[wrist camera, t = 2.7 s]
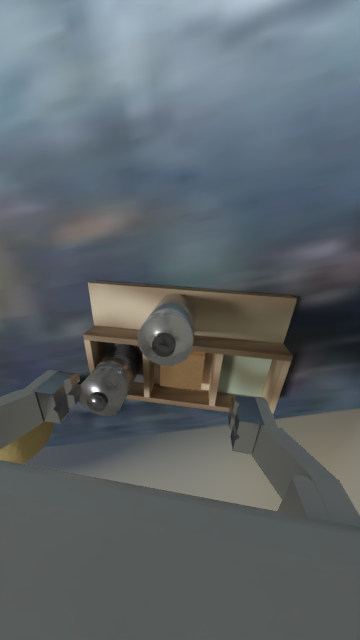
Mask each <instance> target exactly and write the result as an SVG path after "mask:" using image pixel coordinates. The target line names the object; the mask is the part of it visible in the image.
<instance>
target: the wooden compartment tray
mask: <svg viewBox="0 0 360 640" xmlns="http://www.w3.org/2000/svg"><path fill="white" fill-rule="evenodd" d="M88 287H89V293H90V300H91V307H92V314H93V320H94V327H92V328H91V329H90V330H88V331H87V332H86V333H85V334H83V337H84V342H85V348H86V353H87V359H88V365H89V370H90V373H91V372H92V371H93V370H94V369H95V368H96V366H97V365H98V364H99V363H100V362H101V361H102V359H103V358H104V357H105V356H106V355H107V354H108V352H109V351H110V350H111V349H112V348H113V347H114V346H116V345H118V344H128V345H131V346H133V347H135V348H136V349H137V350H138V351H139V352H140V353H141V355H142V358H143V364H142V367H141V369H140V371H139V373H138V375H137V377H136V379H135V381H134V383H133V385H132V387H131V389H130V391H129V393H128V395H127V397H126V399H133V400H140V401H148V402H156V403H163V404H171V405H178V406H186V407H194V408H201V409H209V410H216V411H224V412H229V408H230V407H231V406H232V403H231V398H232V395H233V394H236V395H244V396H252V397H262V398H265V399H266V400H267V403H268V405H269V408H270V410H271V412H272V415H273V413H274V410H275V407H276V404H277V401H278V398H279V396H280V393H281V390H282V387H283V384H284V381H285V378H286V375H287V372H288V370H289V367H290V364H291V361H292V358H293V355H292V354H291V353H290V351H289V350H288V349H287V348H286V346H285V345H284V344H283V343H284V340H285V337H286V334H287V330H288V327H289V324H290V321H291V317H292V314H293V311H294V308H295V305H296V301H297V298H295V297H294V296H292V295H282V294H268V293H255V292H242V291H228V290H215V289H201V288H188V287H175V286H161V285H148V284H135V283H121V282H108V281H95V280H94V281H92V282H89V283H88ZM169 294H181V295H184V296H186V297H188V298H189V299H190V300H191V301H192V303H193V304H194V306H195V309H196V318H195V329H194V340H193V349H192V351H195V352H204V353H205V360H204V369H203V377H202V385H201V391H198V390H190V389H182V388H174V387H166V386H160V365H159V364H156V363H154V362H152V361H150V360H149V359H147V358H146V357H145V356H144V355H143V353H142V352H141V350H140V348H139V345H138V340H137V339H138V332H139V330H140V328H141V326H142V325H143V324H144V322H145V321H146V320H147V318H148V317H149V315H150V314H151V313H152V311H153V310H154V309H155V307H156V306H157V304H158V303H159V302H160V300H161V299H162V298H163V297H165V296H167V295H169Z"/></svg>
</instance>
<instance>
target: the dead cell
mask: <svg viewBox="0 0 360 640" xmlns="http://www.w3.org/2000/svg"><path fill="white" fill-rule="evenodd" d="M142 364H143V358H142V355H141V353H140V352H139V351H138V350H137V349H136V348H135V347H133V346H131V345H128V344H118V345H116V346H114V347H113V348H112V349H111V350H110V351H109V352H108V354H107V355H106V356H105V357H104V358H103V359H102V361H101V362H100V363H99V364H98V365H97V366H96V368H95V369H94V370H93V371H92V372H91V373H90V374H89V376H88V377H87V378H86V379H85V380H84V381H83V383H82V384H81V385H80V386H81V388H82V393H81V397H80V399H79V401H80V403H81V404H82V405H83V406H84V407H85V408H86V409H87V410H89V411H91V412H92V413H95V414H98V415H102V416H110V415H113V414H116V413H117V412H118V411H119V410H120V409H121V407H122V405H123V403H124V401H125V399H126V397H127V395H128V393H129V391H130V389H131V387H132V385H133V383H134V381H135V379H136V377H137V375H138V373H139V371H140V369H141V367H142Z"/></svg>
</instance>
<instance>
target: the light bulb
mask: <svg viewBox="0 0 360 640" xmlns="http://www.w3.org/2000/svg"><path fill="white" fill-rule="evenodd" d="M53 425H54V422H46V421H44V422H43V423H42V424H40V425H38V426H37V427H35V428H34V429H32V430H31V431H29V432H27V433H26V434H24V435H23V436H21V437H20V438H18V439H16V440H15V441H13V442H12V443H10V444H9V445H7V446H5V447H4V448H2V449H1V450H0V460H4V461H9V462H15V463H20V464H24V463H25V462H27V461H28V460H30V459H31V458H33V457H34V456H35V455H36V454H37V453H38V452H39V451H40V450H41V449H42V448H43V447H44V446H45V444H46V443H47V441H48V439H49V437H50V436H51V433H52V430H53Z"/></svg>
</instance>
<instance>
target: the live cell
mask: <svg viewBox="0 0 360 640" xmlns="http://www.w3.org/2000/svg"><path fill="white" fill-rule="evenodd" d="M195 318H196V309H195V306H194V304H193V303H192V301H191V300H190V299H189V298H188V297H186V296H184V295H181V294H169V295H167V296H165V297H163V298H162V299H161V300H160V302H159V303H158V304H157V306H156V307H155V309H154V310H153V311H152V313H151V314H150V315H149V317H148V318H147V320H146V321H145V322H144V324H143V325H142V326H141V328H140V330H139V332H138V339H137V340H138V345H139V348H140V350H141V352H142V353H143V355H144V356H145V357H146V358H147V359H149V360H150V361H152V362H154V363H156V364H159V365H163V366H173V365H177V364H179V363H182V362H183V361H185V360H186V359H187V358H188V357H189V355H190V354H191V352H192V349H193V340H194V329H195Z"/></svg>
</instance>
